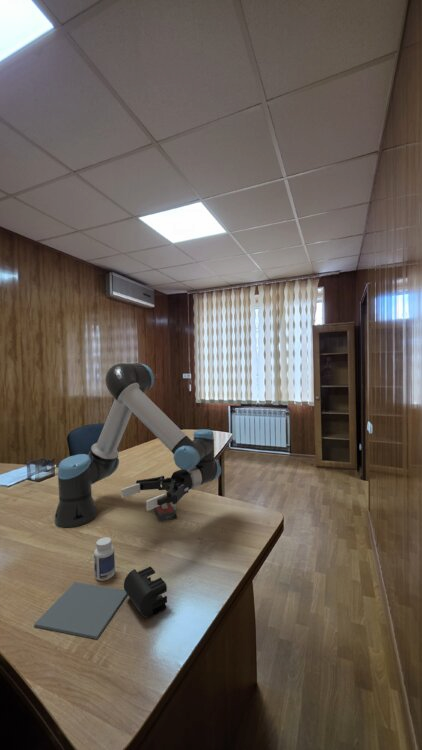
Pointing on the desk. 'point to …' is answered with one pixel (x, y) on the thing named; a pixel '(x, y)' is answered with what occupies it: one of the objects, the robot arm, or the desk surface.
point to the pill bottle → (104, 559)
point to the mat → (83, 610)
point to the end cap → (146, 592)
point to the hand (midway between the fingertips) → (133, 499)
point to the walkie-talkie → (165, 512)
